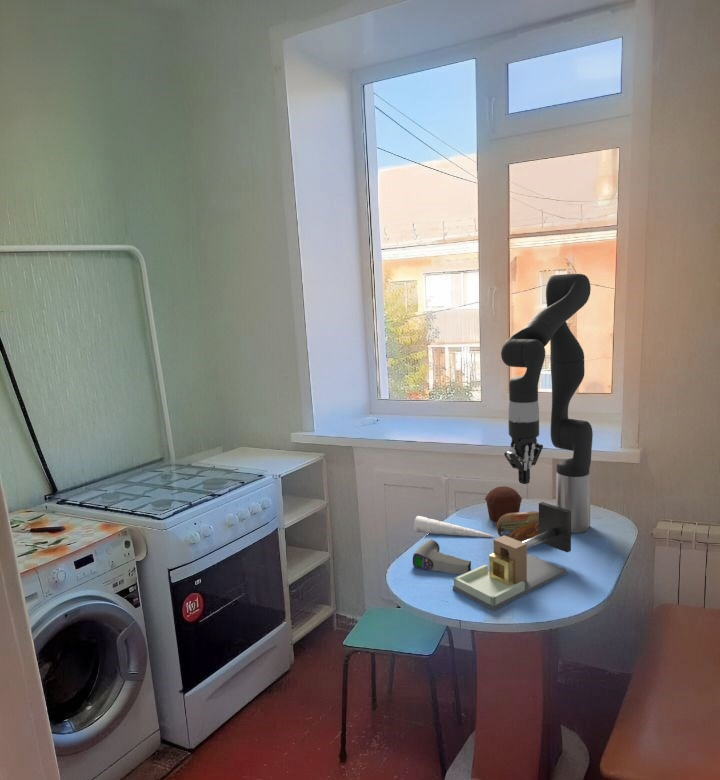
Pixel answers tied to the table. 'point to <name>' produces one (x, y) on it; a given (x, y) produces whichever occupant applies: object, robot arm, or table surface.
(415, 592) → the table surface
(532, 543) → the shaft
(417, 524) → the unicorn horn
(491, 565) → the spacer
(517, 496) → the muffin
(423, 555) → the infrared thermometer
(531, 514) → the tin
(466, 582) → the shaft rig
